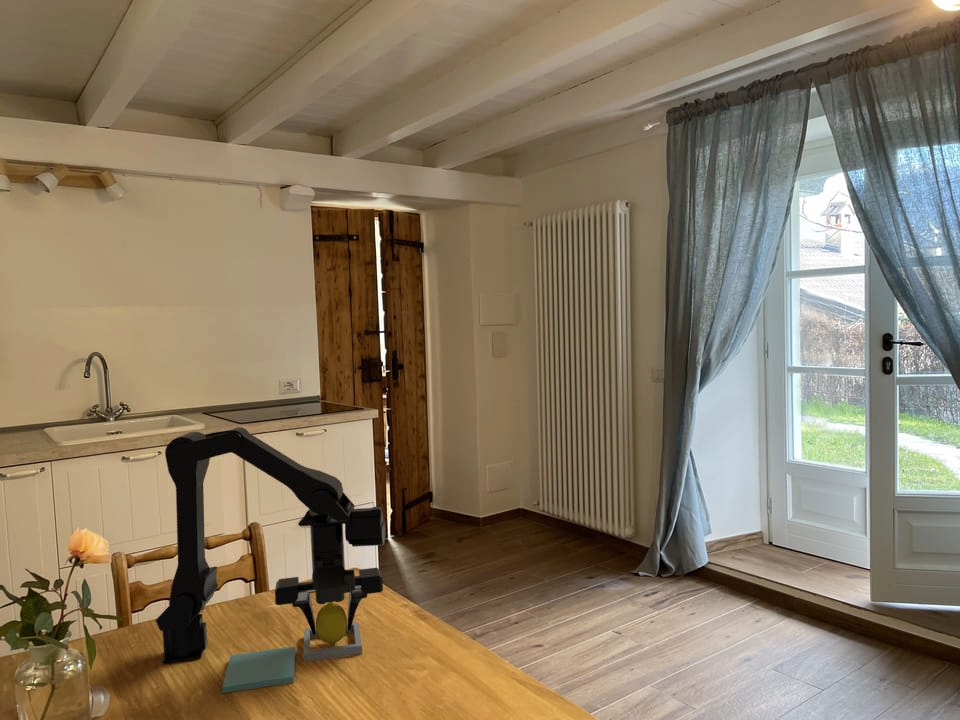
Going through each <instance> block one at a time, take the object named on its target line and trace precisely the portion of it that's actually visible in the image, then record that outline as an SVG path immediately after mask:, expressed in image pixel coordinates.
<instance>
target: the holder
mask: <svg viewBox="0 0 960 720" xmlns="http://www.w3.org/2000/svg"><path fill="white" fill-rule="evenodd" d="M303 631H304V633H303V663H307V662H308V663H309V662H316V661H321V660H329V659H335V658H342V657H349V656H350V657H351V656H357V655H363V644H362V637H361V630H360V624H359V621H355V622H354V621H353V622H352V626H351V630H348V622H347V629H346V633H345V635H347V634H353V637H354V643H352V644H347V645H346V644H344V645H338V646H331V647H323V648H317V649H311V639H317V638H319V636H318V634H317V631H316V627H315V631H316V635H313V633H312V631H311V628H310V627H309V628H304V630H303Z"/></svg>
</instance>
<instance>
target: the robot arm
mask: <svg viewBox="0 0 960 720" xmlns="http://www.w3.org/2000/svg"><path fill="white" fill-rule="evenodd" d="M164 450H165V451H164V455H165V460H166V466H167V471H168V474H169V476H170V478H171V480H172V483H174V486H175V498H176V499H175V502H176V506H175V509H176V538H177V539H176V542H177V543H176V544H177V545H176V546H177V566H176V570H175V574H174V577H173V580H172V582H171V588H170V593H169V600H168V606H167V607H166V608H165V609H164V611H162V612H161V614H160V615H159V616H158V617H157V618H156V619H155V622H156V625H157V627H158V629H159V631H161V632H162V641H163V642H162V643H163V657H162V658H161V663H162V664H168V663H169V664H170V663H175V662H182V661H183V662H184V661H191V660H198V659H201V658H202V656H203V653H204V651H206V649H207V645H208V629H207V622H205V621H204V620H203V617H204V616H203V613H201V612H202V611H203V610H205V607H206V605H207V604H208V603H209V601H210V600H211V599H212V598H213V596H214V594H215V591H216V590H217V589H218V588H219V584H218V582H217V573H218V566H216V565H215V566H209V564H208V562H207V558H206V548H205V546H206V545H205V542H206V540H205V502H204V498H205V497H204V496H205V495H204V481H205V478H206V475H207V472H208V468H209V465H210V460H211V458H215V457H219V456H223V455H225V454H231V453H232V454H234V455H235V456H237V457H239V458H241V459H242V460H243V461H245V462H247V463H248V464H250V465H252V466H253V467H256V468H257V469H259V470H260V471H261V472H263V473H265V474H266V475H268V476H270V477H271V478H273V479H275V480H276V481H278V482H279V483H281V484H283V485H284V486H286V487H287V488H288V489H289V490H290V491H292V493H293V494H294V495H295V497H296V498H297V499H298V500H299V501H300V503H302V504H303V505H304V506H305V507H306V508H308V509H307V511H306V512H305V514H304V516H302V517H301V519H300V520H299V521H298V523H297V525H298V526H299V527H305V526H307V527H310V528H309V529H310V548H311V550H310V551H311V566H312V574H311V578H312V579H311V580H312V581H306V582H300V577H299V576H294V577H285V578H279V579H278V580H277V581H276V582H275V589H274V595H275V596H274V601H275V602H274V603H275V605H277V606H283V605H292V607H293V608H299V609H300V610H301V611H302V613H303V615H304V616H305V619H306V621H307V623H308V626H309V629H310V628H311V631H312V633H313V635H316V631H315V628H316V619H315V616H314V614H315V613H314V610H313V609H314V608H313V604H312V596H311V594H313V593H315V601H316V603H317V604H318V605H326V604H328V603H329V602H332V603H334V602H335V603H341V602H342V601H344V600H345V594H348V606H347V623H348V630H351V626H352V623H354V619H355V615H356V611H357V609H358V606H359V604H360V602H361V601H362V600H363V599H367V598H368V595H370V594H371V595H372V594H379V593H382V592H383V591H384V586H383V585H384V584H383V576H382V572H381V570H380V569H379V568H378V567H369V568H361V569H359V570H358V575H357V576H356V575H355V569H346V564H345V546H344V545H345V543H344V537H345V542H348V545H351V546H352V547H353V548H354V547H355V548H357V547H373V546H384V545H385V543H386V541H385V540H386V524H385V523H386V522H385V520H384V514H383V508H382V505H381V506H372V507H363V508H356V506H355V504H354V503H353V501H352V500H351V499H350V498H349V497H348V495H347V494H346V493H345V492H344V488H343V484H342V482H341V480H340V479H338V478H337V477H336V476H333V475H331V474H329V473H326V472H324V471H321V470H317V469H314V468H310V467H306V466H304V465H302V464H300V463H299V462H297V461H295V460H293V459H292V458H290V457H288V456H287V455H285V454H284V453H283V452H281V451H279V450H277V449H276V448H275V447H272V446H271V445H269V444H268V443H267V442H264V441H263V440H261V439H260V438H258V437H257V436H254V435H253V434H252V433H250V432H249V431H248V430H247V429H246V428H244V427H242V426H241V427H240V426H238V427H234V428H232V429H227V430H220V431H214V432H210V433H206V434H204V433H202V432H200V431H190V432H187V433H184V434H182V435H179V436H178V437H176V438H173V439H172V440H170V442H169V443H168V444H167V445H166V446H165V449H164ZM343 525H344V526H343ZM344 529H345V530H344ZM344 535H345V536H344Z"/></svg>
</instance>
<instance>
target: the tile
mask: <svg viewBox="0 0 960 720" xmlns="http://www.w3.org/2000/svg"><path fill="white" fill-rule="evenodd" d="M296 651H297V649H296V645H295V646H289V647H288V646H287V647H281V648H280V647H279V648H273V649H266V650H259V651H251V652H245V653H243V652H242V653H238V654H231V655H230V656H229V660H228V664H227V668H226V672H225V675H224V679H223V682H222V683H223V684H222V686H221V687H222V694H227V693H233V692H239V691H246V690H254V689H258V688H259V689H260V688H267V687H272V686H280V685H286V684H294V683H295V672H296V671H295V670H296V669H295V668H296V656H297V655H296Z"/></svg>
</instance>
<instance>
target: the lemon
mask: <svg viewBox="0 0 960 720" xmlns="http://www.w3.org/2000/svg"><path fill="white" fill-rule="evenodd" d="M347 619H348V617H347V615H346V612H345V609H344V608H343V607H342V606H341V605H340V604H337V603H336V602H335V603H334V602H328V603H325V604H323V606H322V607H321V608H320V609H319V610H318V613H317V614H316V618H315V628H316V631H317V634H318V636H319V637H318V638H319V639H320V641H322V642H323V643H325V644H328V645H330V646H331V647H334V646H336V644H337V643H338V642H340V641H341V640H342V639H343V638H344V636H345V635H346V634H345V633H346V629H347V623H348V620H347Z"/></svg>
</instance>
